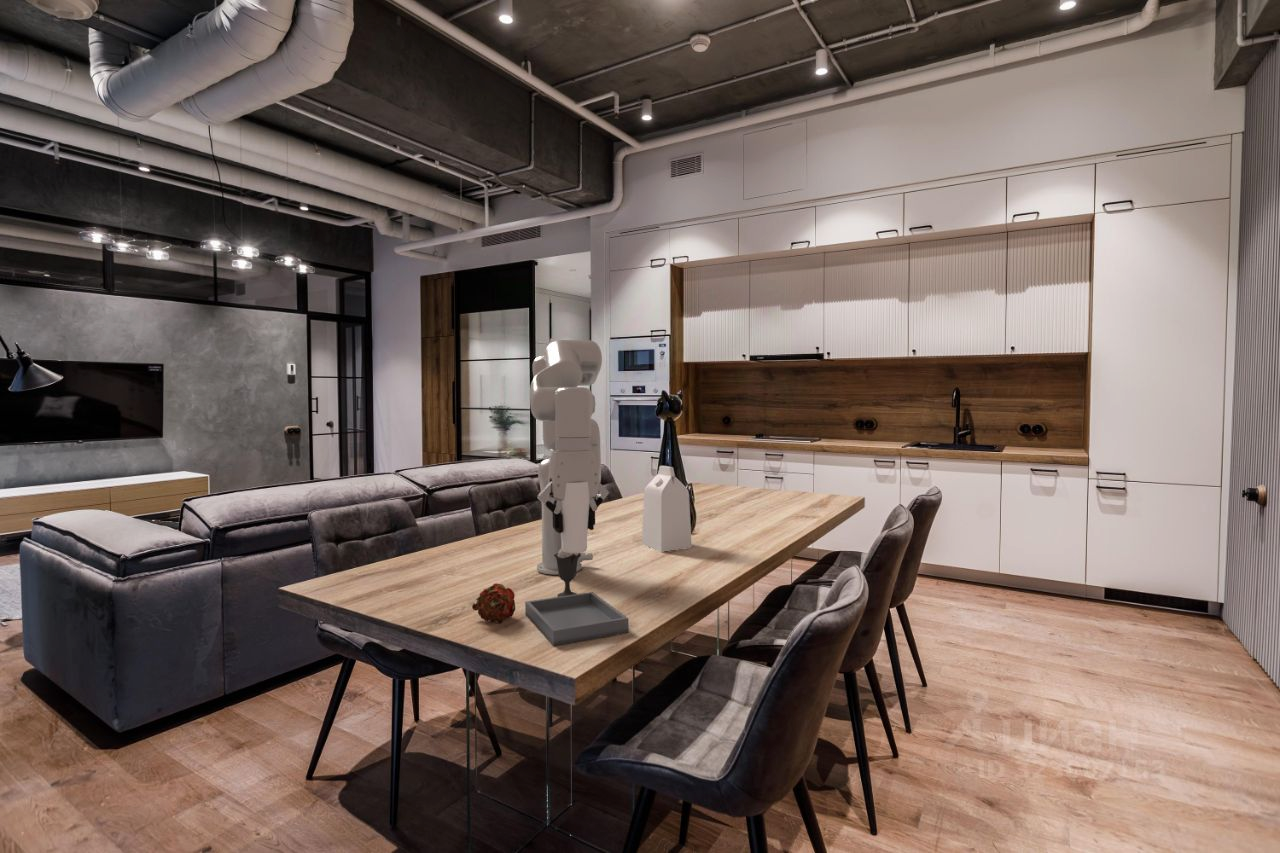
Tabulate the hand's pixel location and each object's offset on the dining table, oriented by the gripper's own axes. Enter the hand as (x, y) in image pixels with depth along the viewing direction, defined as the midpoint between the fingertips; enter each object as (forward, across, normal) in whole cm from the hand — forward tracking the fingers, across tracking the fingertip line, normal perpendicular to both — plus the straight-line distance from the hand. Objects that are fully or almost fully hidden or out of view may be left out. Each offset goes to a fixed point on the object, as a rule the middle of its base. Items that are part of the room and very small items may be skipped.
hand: (574, 529), depth 135 cm
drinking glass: (+5, 0, 0) cm, 5 cm away
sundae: (+20, -5, -19) cm, 28 cm away
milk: (+20, -51, -54) cm, 77 cm away
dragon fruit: (+20, +15, -10) cm, 27 cm away
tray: (+20, 0, 0) cm, 20 cm away
